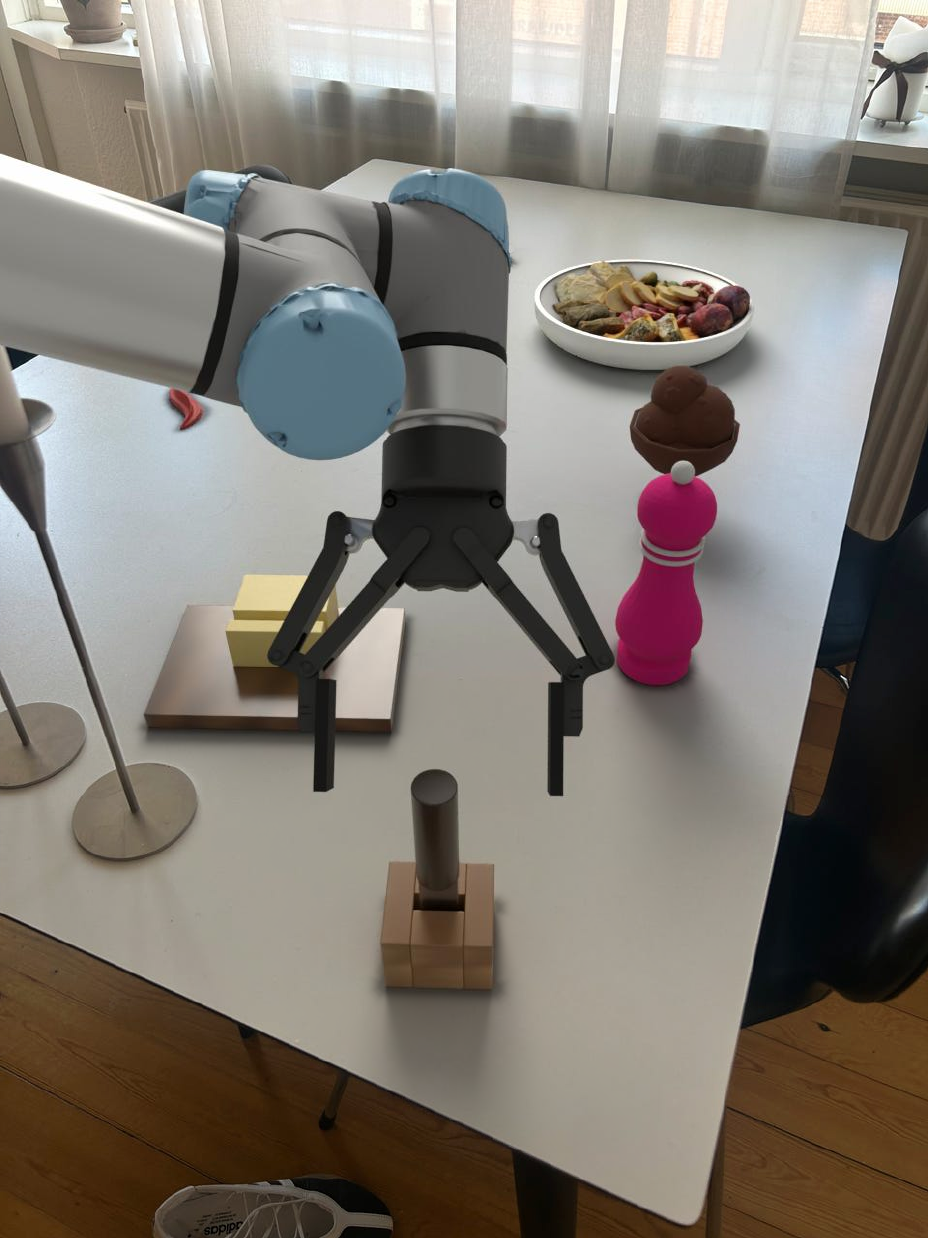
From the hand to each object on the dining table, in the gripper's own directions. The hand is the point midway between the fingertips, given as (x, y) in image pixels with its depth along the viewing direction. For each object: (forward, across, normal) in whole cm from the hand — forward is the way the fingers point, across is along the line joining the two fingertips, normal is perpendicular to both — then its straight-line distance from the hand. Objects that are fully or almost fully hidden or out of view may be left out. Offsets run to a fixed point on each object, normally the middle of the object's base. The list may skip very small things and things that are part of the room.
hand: (439, 792), depth 57 cm
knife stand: (+11, 0, -8) cm, 13 cm away
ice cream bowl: (-27, -22, -45) cm, 57 cm away
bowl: (-58, -23, -76) cm, 99 cm away
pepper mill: (-9, -17, -28) cm, 34 cm away
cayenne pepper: (-42, +36, -60) cm, 81 cm away
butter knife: (+11, 0, -8) cm, 13 cm away
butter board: (-8, +15, -26) cm, 31 cm away
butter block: (-12, +15, -28) cm, 34 cm away
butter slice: (-8, +15, -25) cm, 30 cm away
